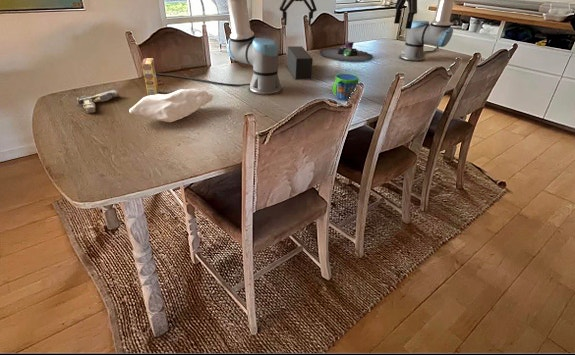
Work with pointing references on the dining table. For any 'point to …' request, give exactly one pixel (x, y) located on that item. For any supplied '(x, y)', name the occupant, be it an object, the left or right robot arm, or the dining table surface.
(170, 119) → the crumpled cloth
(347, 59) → the grey round platform
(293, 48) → the box
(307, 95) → the dining table surface
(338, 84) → the snack cup
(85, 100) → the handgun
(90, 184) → the dining table surface
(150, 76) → the candy box
